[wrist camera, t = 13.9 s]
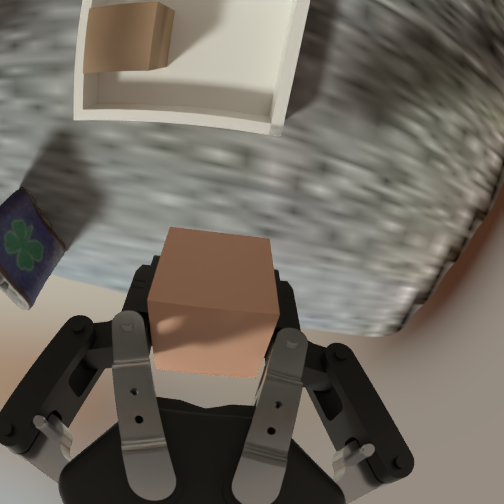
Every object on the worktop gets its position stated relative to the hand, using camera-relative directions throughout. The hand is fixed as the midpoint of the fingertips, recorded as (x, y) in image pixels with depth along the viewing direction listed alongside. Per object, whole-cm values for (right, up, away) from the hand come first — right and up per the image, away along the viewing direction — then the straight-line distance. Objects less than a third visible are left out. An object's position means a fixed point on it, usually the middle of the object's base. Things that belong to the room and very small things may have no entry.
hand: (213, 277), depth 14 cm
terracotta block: (0, 0, 0) cm, 0 cm away
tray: (-3, +17, +3) cm, 17 cm away
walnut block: (-6, +16, +2) cm, 18 cm away
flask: (-21, +5, +12) cm, 25 cm away
